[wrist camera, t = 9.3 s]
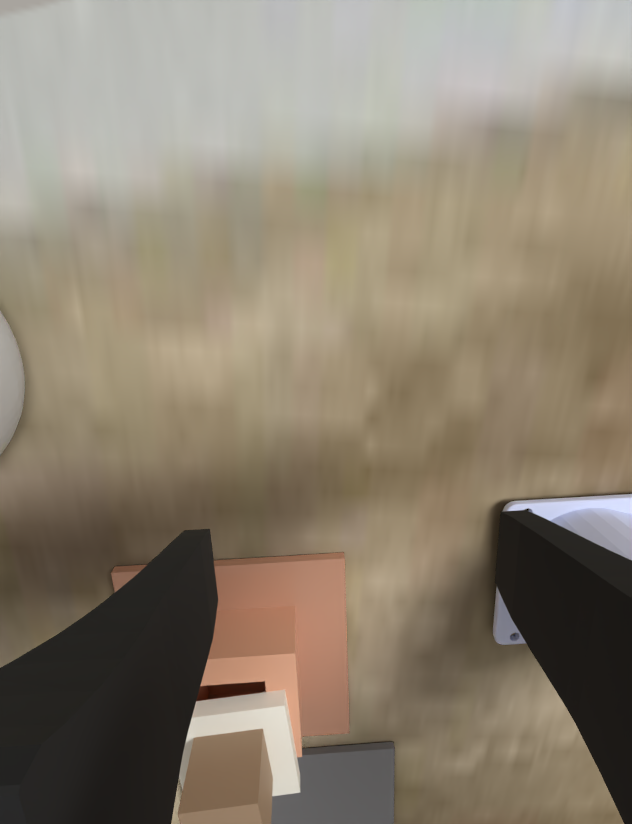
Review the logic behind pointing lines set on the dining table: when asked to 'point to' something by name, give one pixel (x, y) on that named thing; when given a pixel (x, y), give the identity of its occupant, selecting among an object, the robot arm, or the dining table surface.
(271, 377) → the dining table surface
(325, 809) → the mat
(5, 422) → the teacup
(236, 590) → the salmon stepped square block
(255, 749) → the lid
